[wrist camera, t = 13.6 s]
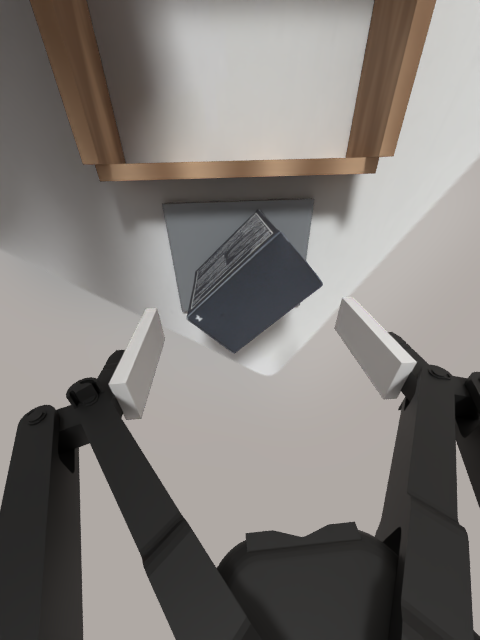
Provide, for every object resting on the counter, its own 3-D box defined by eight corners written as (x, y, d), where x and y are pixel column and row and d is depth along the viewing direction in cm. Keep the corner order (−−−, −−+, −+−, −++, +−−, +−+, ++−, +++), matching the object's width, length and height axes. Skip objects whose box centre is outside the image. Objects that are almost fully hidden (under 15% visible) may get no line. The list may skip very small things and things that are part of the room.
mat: (182, 309, 32) (182, 311, 31) (163, 203, 25) (162, 204, 24) (298, 303, 33) (299, 305, 32) (312, 198, 26) (314, 199, 25)
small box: (230, 305, 31) (234, 358, 23) (193, 272, 29) (180, 318, 20) (294, 249, 28) (327, 287, 19) (258, 206, 25) (279, 227, 16)
